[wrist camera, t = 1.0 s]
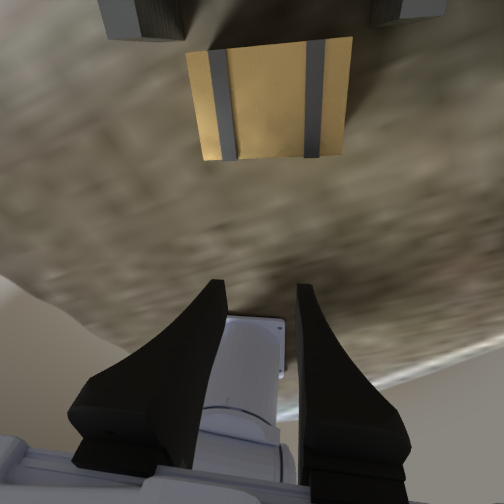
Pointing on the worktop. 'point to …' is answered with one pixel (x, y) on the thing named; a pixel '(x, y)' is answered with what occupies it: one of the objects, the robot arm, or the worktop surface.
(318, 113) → the block
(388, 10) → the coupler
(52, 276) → the worktop surface
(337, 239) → the worktop surface
